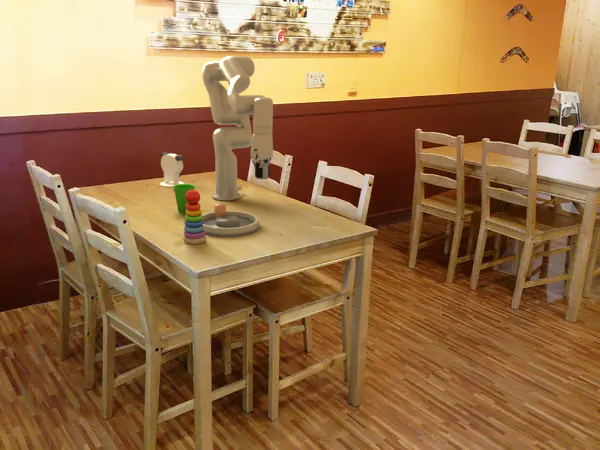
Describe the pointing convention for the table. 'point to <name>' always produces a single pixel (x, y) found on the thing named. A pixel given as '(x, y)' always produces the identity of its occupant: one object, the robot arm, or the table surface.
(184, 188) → the cup
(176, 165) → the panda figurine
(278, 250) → the table surface
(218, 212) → the salmon orange block
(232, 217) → the groove tray
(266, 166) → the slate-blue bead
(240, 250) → the table surface
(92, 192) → the table surface
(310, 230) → the table surface
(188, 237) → the stacking toy
